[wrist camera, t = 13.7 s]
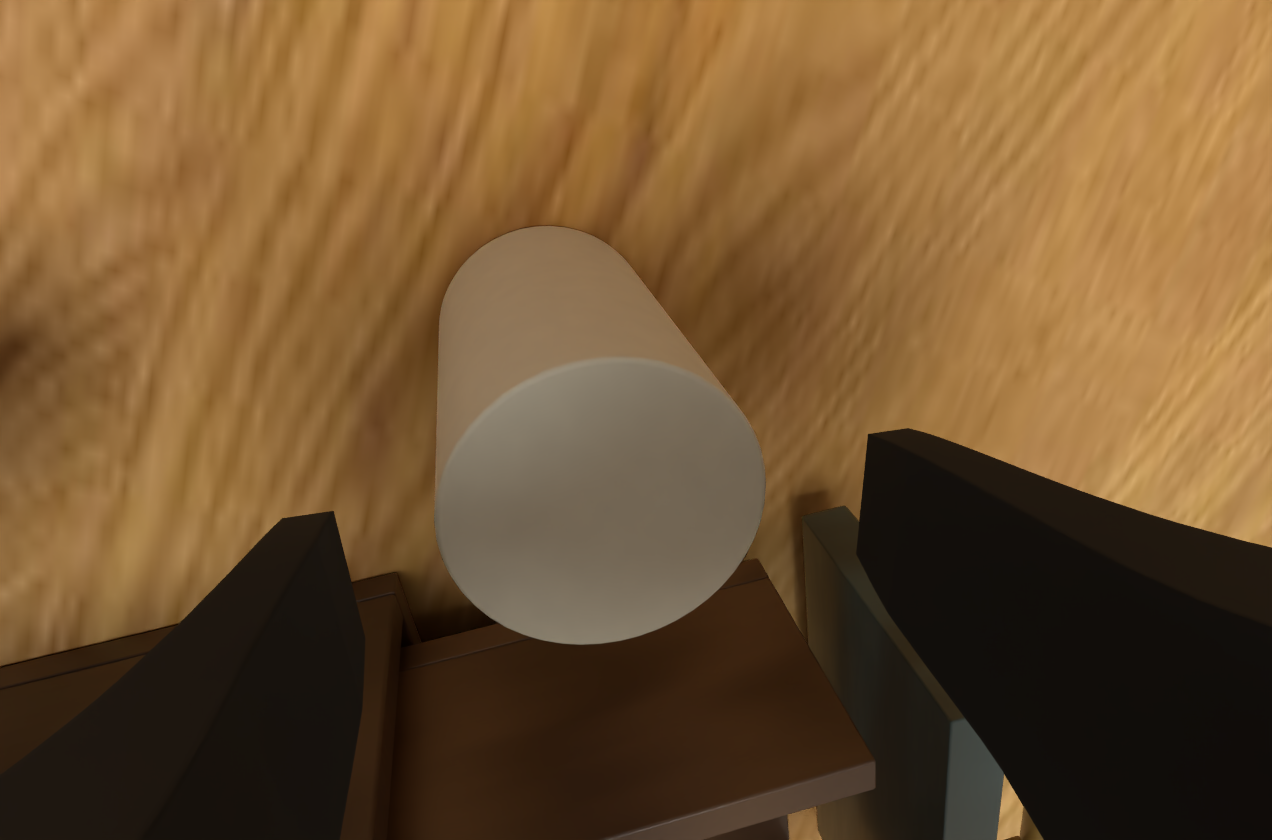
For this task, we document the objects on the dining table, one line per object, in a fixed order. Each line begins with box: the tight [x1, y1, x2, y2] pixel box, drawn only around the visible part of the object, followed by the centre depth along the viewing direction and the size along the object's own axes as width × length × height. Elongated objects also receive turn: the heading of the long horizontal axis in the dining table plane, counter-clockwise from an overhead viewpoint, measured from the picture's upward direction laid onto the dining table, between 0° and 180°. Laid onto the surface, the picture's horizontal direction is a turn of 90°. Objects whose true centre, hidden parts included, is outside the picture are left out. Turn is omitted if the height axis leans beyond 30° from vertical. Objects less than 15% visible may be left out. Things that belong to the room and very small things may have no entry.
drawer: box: [387, 506, 1043, 840], centre depth 20 cm, size 18×12×7 cm
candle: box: [434, 226, 766, 645], centre depth 14 cm, size 5×5×8 cm
